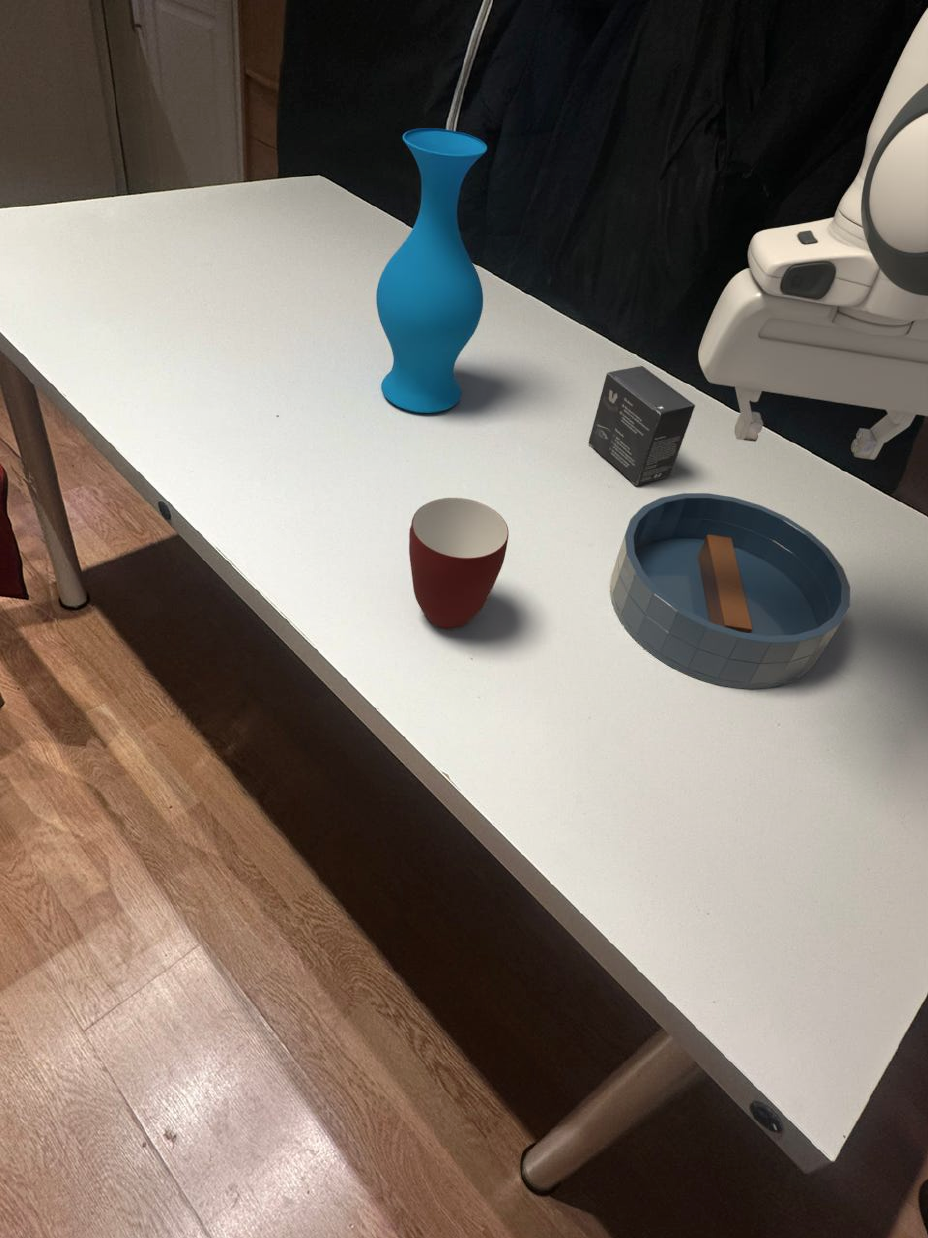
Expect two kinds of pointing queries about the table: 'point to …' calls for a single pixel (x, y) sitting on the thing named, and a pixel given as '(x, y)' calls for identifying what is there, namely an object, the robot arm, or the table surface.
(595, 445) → the box
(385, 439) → the table surface
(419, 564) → the mug
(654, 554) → the bowl
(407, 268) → the vase
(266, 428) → the table surface
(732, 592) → the stick
